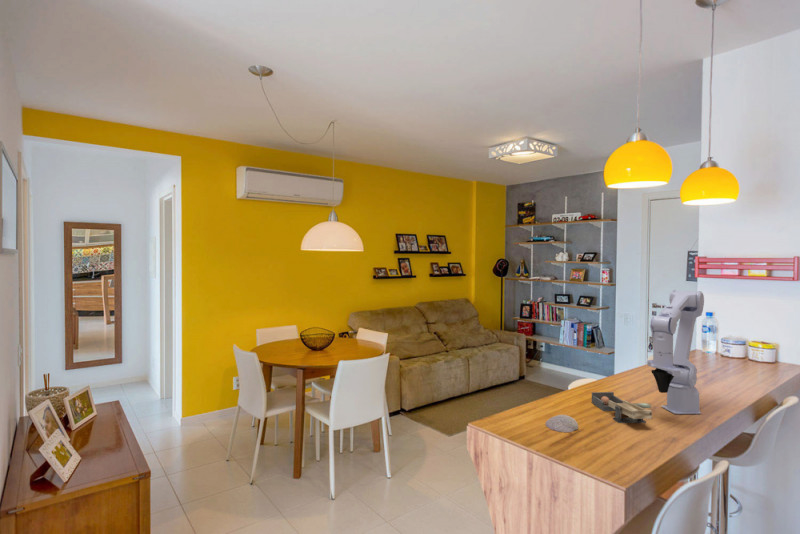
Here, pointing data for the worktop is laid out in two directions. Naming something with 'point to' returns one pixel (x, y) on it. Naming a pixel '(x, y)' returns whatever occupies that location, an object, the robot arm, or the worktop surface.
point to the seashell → (562, 423)
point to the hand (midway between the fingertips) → (663, 392)
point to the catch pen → (599, 403)
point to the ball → (605, 400)
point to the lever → (633, 409)
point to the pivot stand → (626, 419)
